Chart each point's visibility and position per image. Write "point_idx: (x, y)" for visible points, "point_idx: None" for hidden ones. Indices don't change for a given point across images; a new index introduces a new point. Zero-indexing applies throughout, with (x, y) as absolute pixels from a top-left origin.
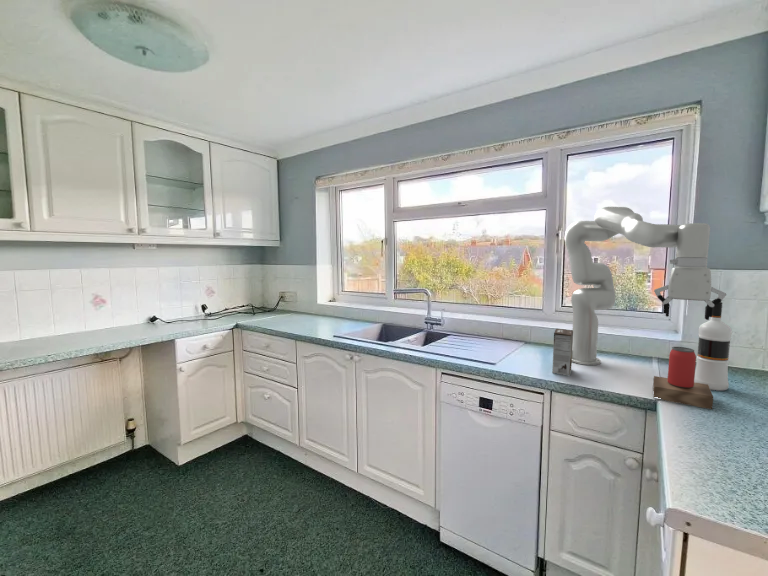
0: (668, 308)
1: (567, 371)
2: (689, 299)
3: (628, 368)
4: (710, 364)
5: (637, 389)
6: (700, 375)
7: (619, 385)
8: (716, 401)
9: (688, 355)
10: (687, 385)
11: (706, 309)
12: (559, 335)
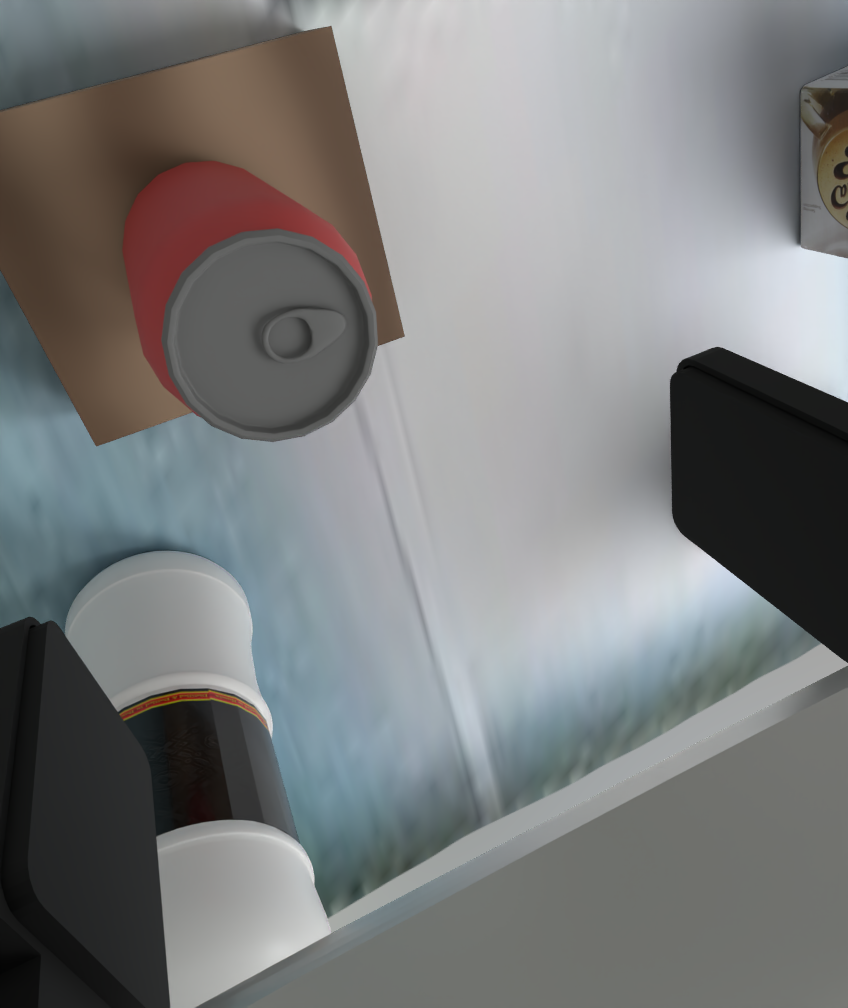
0: (826, 423)
1: (836, 82)
2: (645, 777)
3: (554, 549)
4: (156, 664)
5: (433, 165)
6: (203, 599)
7: (534, 153)
8: (14, 356)
9: (184, 241)
10: (144, 188)
11: (47, 835)
12: None
